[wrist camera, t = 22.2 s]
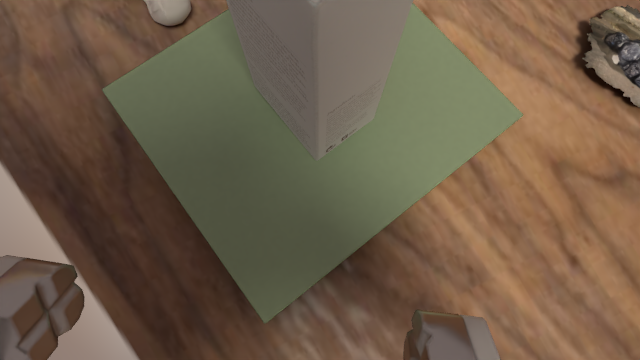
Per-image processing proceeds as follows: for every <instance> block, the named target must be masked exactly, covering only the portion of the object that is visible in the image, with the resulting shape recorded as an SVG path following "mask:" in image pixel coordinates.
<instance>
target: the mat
mask: <svg viewBox="0 0 640 360" xmlns="http://www.w3.org/2000/svg"><path fill="white" fill-rule="evenodd" d="M102 91H103V92H104V94H105V95H106V97H107V98H108V100H109V101H110V102H111V104H112V105H113V107H114V108H115V110H116V111H117V113H118V114H119V115H120V117H121V118H122V120H123V121H124V123H125V124H126V125H127V127H128V128H129V130H130V131H131V133H132V134H133V135H134V137H135V138H136V140H137V141H138V143H139V144H140V146H141V147H142V148H143V150H144V151H145V153H146V154H147V156H148V157H149V158H150V160H151V161H152V163H153V164H154V166H155V167H156V169H157V170H158V171H159V173H160V174H161V176H162V177H163V179H164V180H165V181H166V183H167V184H168V186H169V187H170V189H171V190H172V192H173V193H174V194H175V196H176V197H177V199H178V200H179V202H180V203H181V204H182V206H183V207H184V209H185V210H186V212H187V213H188V214H189V216H190V217H191V219H192V220H193V222H194V223H195V225H196V226H197V227H198V229H199V230H200V232H201V233H202V235H203V236H204V237H205V239H206V240H207V242H208V243H209V245H210V246H211V248H212V249H213V250H214V252H215V253H216V255H217V256H218V258H219V259H220V260H221V262H222V263H223V265H224V266H225V268H226V269H227V271H228V272H229V273H230V275H231V276H232V278H233V279H234V281H235V282H236V283H237V285H238V286H239V288H240V289H241V291H242V292H243V293H244V295H245V296H246V298H247V299H248V301H249V302H250V304H251V305H252V306H253V308H254V309H255V311H256V312H257V314H258V315H259V316H260V318H261V319H262V321H263V322H264V323H267V322H268V321H270V320H271V319H272V318H273V317H275V316H276V315H277V314H278V313H279V312H281V311H282V310H283V309H284V308H286V307H287V306H288V305H289V304H291V303H292V302H293V301H294V300H296V299H297V298H298V297H299V296H301V295H302V294H303V293H304V292H305V291H307V290H308V289H309V288H310V287H312V286H313V285H314V284H315V283H317V282H318V281H319V280H320V279H322V278H323V277H324V276H325V275H327V274H328V273H329V272H330V271H332V270H333V269H334V268H335V267H336V266H338V265H339V264H340V263H341V262H343V261H344V260H345V259H346V258H348V257H349V256H350V255H351V254H353V253H354V252H355V251H356V250H358V249H359V248H360V247H361V246H362V245H364V244H365V243H366V242H367V241H369V240H370V239H371V238H372V237H374V236H375V235H376V234H377V233H379V232H380V231H381V230H382V229H384V228H385V227H386V226H387V225H388V224H390V223H391V222H392V221H393V220H395V219H396V218H397V217H398V216H400V215H401V214H402V213H403V212H405V211H406V210H407V209H408V208H410V207H411V206H412V205H413V204H415V203H416V202H417V201H418V200H419V199H421V198H422V197H423V196H424V195H426V194H427V193H428V192H429V191H431V190H432V189H433V188H434V187H436V186H437V185H438V184H439V183H441V182H442V181H443V180H444V179H445V178H447V177H448V176H449V175H450V174H452V173H453V172H454V171H455V170H457V169H458V168H459V167H460V166H462V165H463V164H464V163H465V162H467V161H468V160H469V159H470V158H472V157H473V156H474V155H475V154H476V153H478V152H479V151H480V150H481V149H483V148H484V147H485V146H486V145H488V144H489V143H490V142H491V141H493V140H494V139H495V138H496V137H498V136H499V135H500V134H501V133H502V132H504V131H505V130H506V129H507V128H509V127H510V126H511V125H512V124H514V123H515V122H516V121H517V120H519V119H520V118H521V117H522V116H523V114H522V113H521V112H520V111H519V110H518V109H517V108H516V107H515V106H514V105H513V104H512V103H511V102H510V101H509V100H508V99H507V98H506V97H505V96H504V95H503V94H502V93H501V92H500V91H499V90H498V89H497V88H496V87H495V86H494V84H493V83H492V82H491V81H490V80H489V79H488V78H487V77H486V76H485V75H484V74H483V73H482V72H481V71H480V70H479V69H478V68H477V67H476V66H475V65H474V64H473V63H472V62H471V61H470V60H469V59H468V58H467V57H466V56H465V55H464V54H463V53H462V52H461V51H460V50H459V49H458V48H457V47H456V46H455V45H454V44H453V43H452V42H451V41H450V40H449V39H448V38H447V37H446V36H445V35H444V34H443V33H442V32H441V31H440V30H439V29H438V28H437V27H436V26H435V25H434V24H433V23H432V22H431V21H430V20H429V19H428V18H427V17H426V16H425V15H424V14H423V13H422V12H421V11H420V10H419V9H418V8H417V7H416V6H415V5H414V4H413V3H412V5H411V8H410V11H409V14H408V17H407V20H406V23H405V26H404V29H403V32H402V35H401V38H400V41H399V44H398V47H397V50H396V53H395V56H394V59H393V62H392V65H391V68H390V71H389V74H388V77H387V80H386V83H385V86H384V89H383V92H382V95H381V98H380V101H379V104H378V107H377V110H376V113H375V116H374V119H373V120H372V121H370V122H369V123H368V124H366V125H365V126H363V127H362V128H361V129H359V130H358V131H357V132H355V133H354V134H353V135H351V136H350V137H349V138H347V139H346V140H345V141H343V142H342V143H341V144H339V145H338V146H337V147H335V148H334V149H333V150H331V151H330V152H329V153H327V154H326V155H325V156H323V157H322V158H321V159H319V160H318V161H316V160H315V159H314V158H313V157H312V155H311V154H310V153H309V152H308V151H307V149H306V148H305V147H304V146H303V144H302V143H301V142H300V141H299V140H298V138H297V137H296V136H295V135H294V134H293V132H292V131H291V130H290V129H289V127H288V126H287V125H286V124H285V123H284V121H283V120H282V119H281V118H280V116H279V115H278V114H277V113H276V112H275V110H274V109H273V108H272V107H271V106H270V104H269V103H268V102H267V101H266V99H265V98H264V97H263V96H262V94H261V93H260V92H259V91H258V90H257V88H256V87H255V86H254V83H253V80H252V77H251V74H250V70H249V68H248V64H247V61H246V58H245V55H244V52H243V49H242V46H241V43H240V40H239V37H238V34H237V31H236V28H235V25H234V22H233V19H232V16H231V13H230V10H229V9H228V10H226V11H225V12H223V13H222V14H220V15H218V16H217V17H215V18H214V19H212V20H211V21H209V22H207V23H206V24H204V25H203V26H201V27H199V28H198V29H196V30H195V31H193V32H192V33H190V34H188V35H187V36H185V37H184V38H182V39H181V40H179V41H177V42H176V43H174V44H173V45H171V46H169V47H168V48H166V49H165V50H163V51H162V52H160V53H158V54H157V55H155V56H154V57H152V58H150V59H149V60H147V61H146V62H144V63H143V64H141V65H139V66H138V67H136V68H135V69H133V70H132V71H130V72H128V73H127V74H125V75H124V76H122V77H120V78H119V79H117V80H116V81H114V82H113V83H111V84H109V85H108V86H106V87H105V88H103V89H102Z"/></svg>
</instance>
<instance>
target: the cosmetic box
mask: <svg viewBox="0 0 640 360" xmlns="http://www.w3.org/2000/svg"><path fill="white" fill-rule="evenodd" d="M226 1H227V4H228V8H229V10H230V13H231V16H232V19H233V22H234V25H235V28H236V31H237V34H238V37H239V40H240V43H241V46H242V49H243V52H244V55H245V58H246V61H247V64H248V68H249V70H250V74H251V77H252V80H253V83H254V86H255V87H256V88H257V90H258V91H259V92H260V93H261V94H262V96H263V97H264V98H265V99H266V101H267V102H268V103H269V104H270V106H271V107H272V108H273V109H274V110H275V112H276V113H277V114H278V115H279V116H280V118H281V119H282V120H283V121H284V123H285V124H286V125H287V126H288V127H289V129H290V130H291V131H292V132H293V134H294V135H295V136H296V137H297V138H298V140H299V141H300V142H301V143H302V144H303V146H304V147H305V148H306V149H307V151H308V152H309V153H310V154H311V155H312V157H313V158H314V159H315V160H316V161H318V160H319V159H321V158H322V157H323V156H325V155H326V154H327V153H329V152H330V151H331V150H333V149H334V148H335V147H337V146H338V145H339V144H341V143H342V142H343V141H345V140H346V139H347V138H349V137H350V136H351V135H353V134H354V133H355V132H357V131H358V130H359V129H361V128H362V127H363V126H365V125H366V124H368V123H369V122H370V121H372V120H373V119H374V116H375V113H376V110H377V107H378V104H379V101H380V98H381V95H382V92H383V89H384V86H385V83H386V80H387V77H388V74H389V71H390V68H391V65H392V62H393V59H394V56H395V53H396V50H397V47H398V44H399V41H400V38H401V35H402V32H403V29H404V26H405V23H406V20H407V17H408V14H409V11H410V8H411V5H412V2H413V0H226Z"/></svg>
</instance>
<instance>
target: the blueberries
mask: <svg viewBox="0 0 640 360" xmlns="http://www.w3.org/2000/svg"><path fill="white" fill-rule="evenodd" d="M624 10H625V11H624ZM599 15H601V14H599ZM601 17H602V19H598V17H594V18H592V19H590V22H591V23H589V24H590V25H592V27H591V29H592V31H593V33H590V34H588V33H587V35H589V37H588V41H591V46H592V50H591V51H588V52H587V53H586V54H585V55H586V57H585V58H582V59H584V60H586V62H589V63H588V64H587V65H585V66H587V68H594V69H595V71H596V74H597V75H598V76H600V78H601V79H603V80H604V81H605V82H606V83H609V85H613V87H614V88H620V89H621V90H622V91H623V92H624V94H623V96H625V97H630V99H631V102H633V104H635V105H637V106H638V107H640V13H639V11H638V10H637V9H633V8H632V7H630V6H628V5H627V6H626V7H623V6H621V7H615V8H612V9H609V10H607V11H605V12H604V13H603V14H602V15H601ZM632 87H634V88H632Z"/></svg>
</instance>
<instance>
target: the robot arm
mask: <svg viewBox="0 0 640 360" xmlns="http://www.w3.org/2000/svg"><path fill="white" fill-rule="evenodd" d="M76 278H77V273H76V271H75V268H74V266H72V265H67V264H62V263H56V262H49V261H43V260H37V259H30V258H22V257H16V256H9V255H6V256H3V257H0V360H47V359H48V358H49V356H50V355H51V354H52V353H53V351H54V350H55V349H56V348H57V346H58V336H60V335H62V334H63V333H65V332H67V331H69V330H71V329H72V327H73V326H74V325H75V323H76V322H77V321H78V319H79V318H80V315H81V312H82V310H83V307H84V294H83V291H82V289H81V288H80V287H79V286H78V285H77V284H75V283H74V281H75V279H76ZM411 321H412V327H413V329H412V330H410V331H409V332H407V335H406V339H405V342H404V352H403V360H501V359H500V356H499V354H498V351H497V349H496V346H495V343H494V341H493V338H492V335H491V333H490V330H489V328H488V325H487V322H486V321H485V320H484V319H483V318H482V317H474V316H466V315H458V314H452V313H444V312H435V311H427V310H418V309H417V310H416V311H415V312H414V314H413V317H412V320H411Z"/></svg>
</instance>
